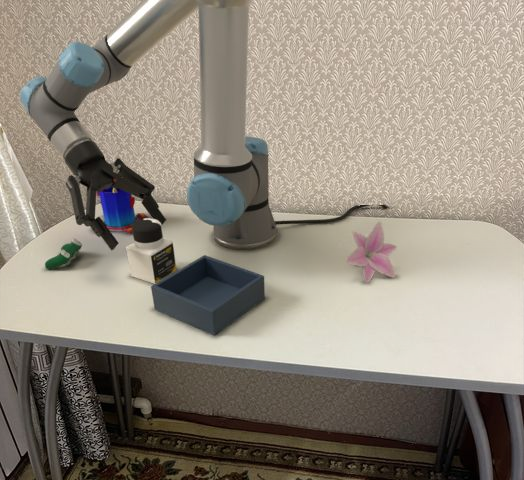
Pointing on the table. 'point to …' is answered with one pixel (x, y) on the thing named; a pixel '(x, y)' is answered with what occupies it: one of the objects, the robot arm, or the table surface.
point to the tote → (208, 294)
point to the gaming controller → (64, 255)
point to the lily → (372, 253)
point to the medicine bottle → (150, 252)
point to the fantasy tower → (118, 210)
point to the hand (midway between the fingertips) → (139, 234)
